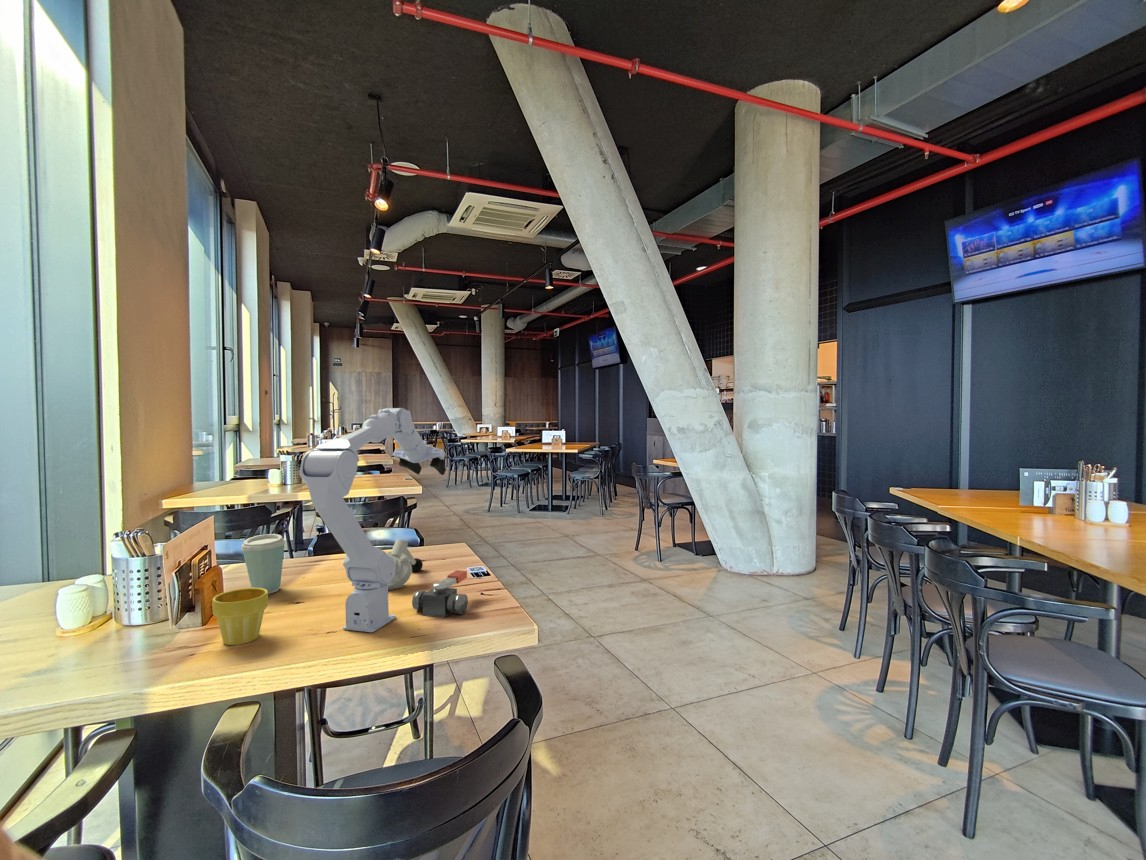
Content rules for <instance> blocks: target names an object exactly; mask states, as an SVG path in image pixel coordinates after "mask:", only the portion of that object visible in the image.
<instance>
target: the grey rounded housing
mask: <svg viewBox="0 0 1146 860" xmlns="http://www.w3.org/2000/svg"><path fill="white" fill-rule="evenodd" d="M408 545H409V543H408V541H407V540H405V539H402V538H401V539H400V538H399V539H396V540H395V542H394V544H393V546H392V549H391V550H390V551H387V552H386V554H387V555H388V556H390V557H392V558H393V559H394V561H395V564H396V572H395V575H394V578H393V579H392V581H391V583H389V584H388V591H392V590H397V589H401V588H404V586H405V584H406V583H407V582H408V581H409V579H410V577H411V575H412V573H417V572H420V571H421V570H422V568H423V565H424V563H423V561H422V559H420V558H416V557H414V556H413V555H412V553H411V552H410V551H409V550H410V549H408V548H407V547H408Z"/></svg>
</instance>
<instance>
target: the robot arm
mask: <svg viewBox="0 0 1146 860" xmlns="http://www.w3.org/2000/svg"><path fill="white" fill-rule="evenodd" d="M416 429H417V428H415V423H414V422H413V417H412V414H411V411H410V410H407V409H406V408H404V407H396V408H395V407H386V408H380V409H379V410H378V412H377V414H371V415H369V419H367V420H365V421H363V423H362V426H361V428H360V429H359V428H358V429H357V430H355V431H352V432H351V433H347V434H345V435H343V436H340V437H339V438H338V437H337V438H336V439H333V440H330V441H327V442H325V443H321V444H319V445H317V446H316V447H315V449H317V450H315V449H312V450H308V451H306V453H304V455H303V457H302V460H301V463H300V469H299V473H298V474H299V476H300V478H301V479H302V481H303V482H304V484H305V485H306V487H307V488H308V492H309V496H310V500H311V504H312V506H313V507H314V509H315V511H316V512H317V514H318V515H319V516H320V518H321V520H322V521H323V523H324V524H325V525H326V527H327V528H328V530H329V531H330V533H331V535H333V537H334V539H335V540H336V542H337V543H338V545H339V546H340V547H341V549H342V550H343V551H344V554H345V555H346V556H345V557H344V559H343V562H342V565H343V567H344V569H345V572H346V577H347V579H348V580H349V581H350V582H351V586H352V587H353V591H352V592H351V593H350V594H349V595H348V596H347V598H346V600H345V625H344V626H342V629H343V630H349V631H354V632H355V631H356V632H363V633H365V632H366V633H374V632H375V631H378V630H379V629H381V628H382V627H383V626H385V625H387V624H388V623H390V622H392V621H393V620H394V619H396V618H397V615H396V614H390V613H389V611H390V610H389V609H390V608H389V590H388V584H389V583H391V581H392V579H393V578H394V575H395V572H396V564H395V561H394V559H393V558H392V557H390V556H388V555H387V554H386V553H387V552H386V551H385V550H382V549H381V548H378V547H376V546H374V545H373V544H372V542H371V541H370V539H369V537H368V536H367V534H366V533H365V531H364V530H363V528H362V526H361V524H360V523H359V522H358V520H357V519H356V516H355V515H354V513H353V511H352V510H351V508H350V507H349V505H348V504H347V501H346V500H345V499H344V498H345V497H346V496H348V495H349V493H350V491H351V489H352V485H353V483H354V479H355V476H356V475H357V470H358V467H359V466H358V465H359V464H358V463H359V462H360V456H359V454H358V452H357V451H358V450H360V449H361V448H362V447H364V446H366V445H368V444H369V443H370V442H371V443H372V444H373V443H374V444H375V443H380V442H381V441H383V440H386V438H387V439H388V437H390V436H391V437H392V438H393V439H394V440H395V442H396V444H397V445H398V446H399V448H395V449H394V451H393V454H392V456H393V457H394V459H396V460H399V462H398V465H399V466H400V467H403V468H406V469H408V470H410V471H411V472H413V473H414V474H416V475H420V473H421V472H422V469H423V468H422V466H421V464H420V463H421V462H424V461H429V460H431V461H430V464H429V466H430V467H432V468H433V469H435V470H436V471H437V472H438V474H439V475H441V476H444V475H445V474H446V470H447V468H446V465H445V457H446V451H445V449H441V448H437V447H434V446H431V445H429V444H427V440H423V439H422V437H421V435H420V434H419V433H418V431H417V430H416Z"/></svg>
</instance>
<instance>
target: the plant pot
mask: <svg viewBox="0 0 1146 860" xmlns="http://www.w3.org/2000/svg"><path fill="white" fill-rule="evenodd" d="M211 601H212V604H211V605H212V606H211V607H212V615H213V616H215V617H216V620H217V624H218V627H219V631H220V632H219V633H220V634H221V638H222V643H223V644H224V645H227V646H239V645H243V644H247V643H250V642H253V641H255V640H256V639H258V638H259V636H260V632H261V627H262V623H263V622H262V621H263V618H264V617H263V616H264V613H265V610H266V609H267V608H268V606H269V594H268V591H267V590H266V589H263V588H251V587H243V588H236V589H231V590H227V591H224V592H221V593H219V594H217V595H215V596H214V597H213V598H212V600H211Z"/></svg>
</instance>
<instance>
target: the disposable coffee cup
mask: <svg viewBox="0 0 1146 860" xmlns="http://www.w3.org/2000/svg"><path fill="white" fill-rule="evenodd" d="M285 544H286V541H285V539H284V538H283V536H282V535H281V534H277V533H269V534H268V533H267V534H260V535H255V536H252V537H248V538H245V540H243V542H242V544H241V548H240V549H241V551H242V553H243V557H244V562H245V566H246V570H247V575H248V578H249V583H250V588H263V589H266V590H267V591H268V595H271V594H273V593H275V592H276V593H277V592H278V591H279V590H280V588H281V582H282V572H283V563H284V553H285Z"/></svg>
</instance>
